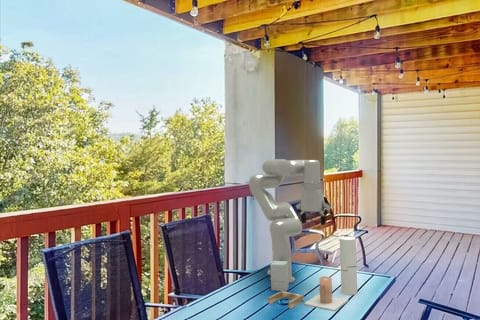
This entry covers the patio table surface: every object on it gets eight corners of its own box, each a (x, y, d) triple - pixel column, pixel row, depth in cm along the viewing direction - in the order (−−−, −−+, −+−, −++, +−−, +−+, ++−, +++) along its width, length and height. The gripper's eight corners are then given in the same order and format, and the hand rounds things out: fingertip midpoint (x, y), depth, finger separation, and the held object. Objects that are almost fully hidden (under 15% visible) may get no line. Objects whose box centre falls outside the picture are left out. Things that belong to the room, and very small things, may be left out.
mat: (304, 304, 168) (304, 303, 168) (318, 295, 179) (318, 294, 179) (334, 311, 160) (334, 309, 160) (348, 301, 171) (348, 299, 171)
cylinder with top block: (316, 302, 168) (315, 279, 168) (323, 298, 173) (322, 275, 173) (327, 305, 165) (327, 281, 165) (334, 300, 170) (333, 277, 170)
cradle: (268, 303, 171) (267, 297, 171) (281, 296, 180) (281, 290, 180) (291, 308, 164) (290, 302, 164) (303, 301, 173) (303, 295, 173)
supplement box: (289, 286, 193) (288, 261, 193) (286, 291, 186) (285, 264, 186) (274, 285, 195) (273, 260, 196) (270, 290, 188) (269, 264, 189)
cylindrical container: (358, 295, 178) (356, 239, 178) (341, 294, 179) (339, 239, 179) (356, 290, 185) (354, 236, 185) (341, 289, 186) (339, 236, 186)
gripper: (291, 187, 184) (293, 223, 184) (326, 187, 174) (327, 226, 173) (299, 186, 190) (300, 221, 190) (333, 186, 180) (334, 223, 179)
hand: (313, 223), depth 182 cm, fingers open, 9 cm apart
